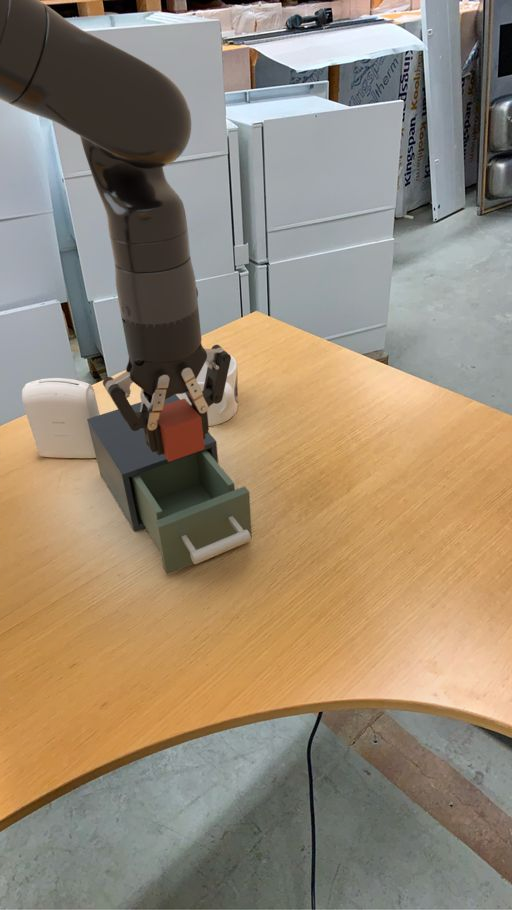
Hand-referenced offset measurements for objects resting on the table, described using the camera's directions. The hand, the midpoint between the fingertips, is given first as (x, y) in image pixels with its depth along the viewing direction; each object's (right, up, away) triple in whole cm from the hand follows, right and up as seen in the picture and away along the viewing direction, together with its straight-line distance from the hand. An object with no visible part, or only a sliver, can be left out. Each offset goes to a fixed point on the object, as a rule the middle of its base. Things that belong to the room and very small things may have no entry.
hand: (178, 443), depth 74 cm
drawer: (+1, -11, +8) cm, 14 cm away
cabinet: (-5, -6, +17) cm, 18 cm away
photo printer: (-19, -1, +24) cm, 30 cm away
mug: (+2, +5, +31) cm, 31 cm away
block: (0, 0, 0) cm, 0 cm away
